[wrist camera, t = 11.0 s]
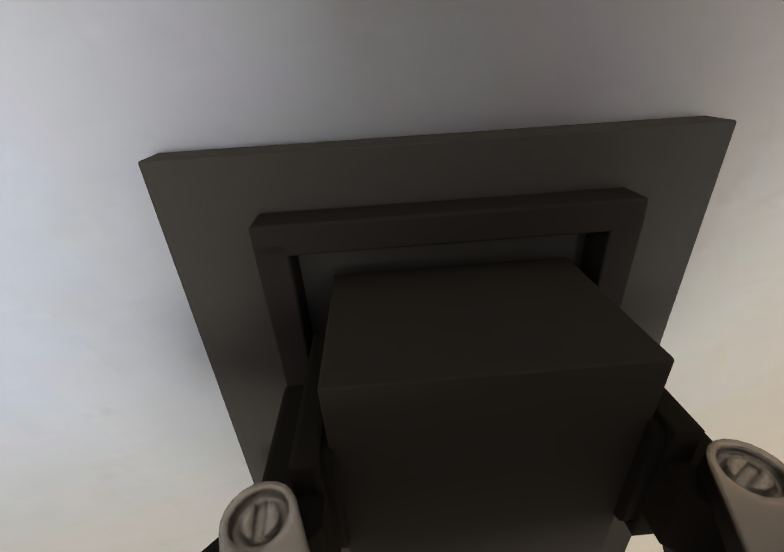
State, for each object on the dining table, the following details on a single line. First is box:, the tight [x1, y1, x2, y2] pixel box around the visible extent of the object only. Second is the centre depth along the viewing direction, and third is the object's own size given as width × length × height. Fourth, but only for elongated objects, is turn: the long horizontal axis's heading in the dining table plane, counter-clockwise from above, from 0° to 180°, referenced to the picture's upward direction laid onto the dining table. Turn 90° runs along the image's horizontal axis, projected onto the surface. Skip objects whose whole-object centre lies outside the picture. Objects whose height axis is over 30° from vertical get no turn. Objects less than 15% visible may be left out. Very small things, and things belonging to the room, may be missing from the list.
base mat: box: [138, 116, 736, 552], centre depth 13 cm, size 20×14×4 cm
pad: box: [318, 257, 674, 552], centre depth 10 cm, size 6×6×4 cm
